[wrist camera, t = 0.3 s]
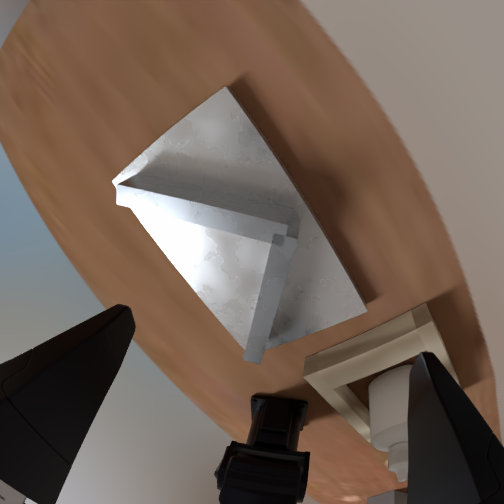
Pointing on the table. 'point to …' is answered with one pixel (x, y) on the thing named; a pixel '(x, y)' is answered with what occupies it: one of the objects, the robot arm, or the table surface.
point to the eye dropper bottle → (391, 417)
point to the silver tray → (239, 228)
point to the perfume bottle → (389, 498)
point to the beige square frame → (372, 361)
